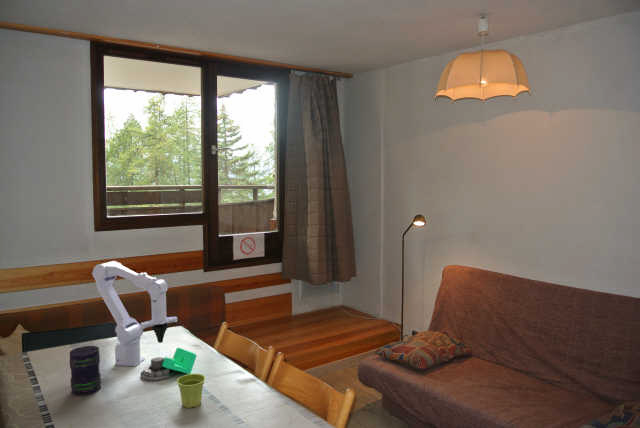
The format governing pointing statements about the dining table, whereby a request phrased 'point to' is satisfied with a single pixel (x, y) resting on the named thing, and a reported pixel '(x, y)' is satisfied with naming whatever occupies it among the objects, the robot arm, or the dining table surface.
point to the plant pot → (191, 389)
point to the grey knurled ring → (156, 374)
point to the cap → (157, 363)
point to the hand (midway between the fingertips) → (160, 342)
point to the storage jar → (85, 370)
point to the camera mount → (180, 361)
